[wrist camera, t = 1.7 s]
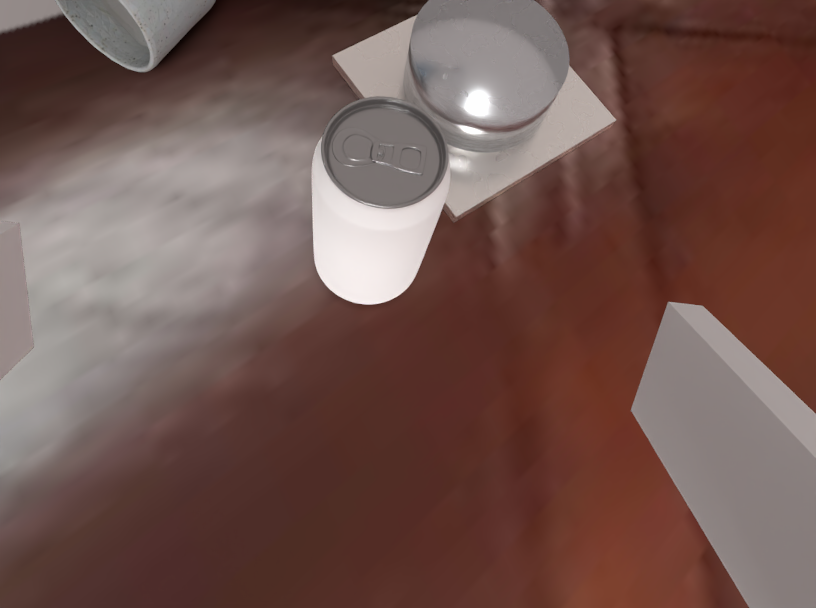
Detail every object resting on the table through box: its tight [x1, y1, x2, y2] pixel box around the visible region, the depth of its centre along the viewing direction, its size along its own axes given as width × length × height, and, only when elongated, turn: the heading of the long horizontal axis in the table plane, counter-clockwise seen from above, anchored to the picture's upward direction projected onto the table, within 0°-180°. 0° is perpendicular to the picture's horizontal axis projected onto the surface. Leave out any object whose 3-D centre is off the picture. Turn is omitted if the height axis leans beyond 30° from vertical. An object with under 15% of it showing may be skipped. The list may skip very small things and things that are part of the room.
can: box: [312, 96, 451, 304], centre depth 34 cm, size 6×6×12 cm
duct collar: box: [332, 0, 616, 222], centre depth 42 cm, size 14×14×5 cm
